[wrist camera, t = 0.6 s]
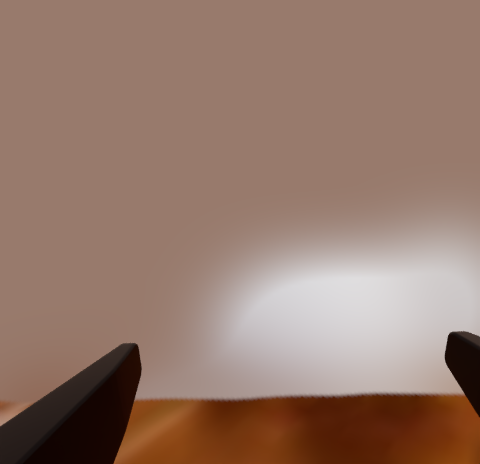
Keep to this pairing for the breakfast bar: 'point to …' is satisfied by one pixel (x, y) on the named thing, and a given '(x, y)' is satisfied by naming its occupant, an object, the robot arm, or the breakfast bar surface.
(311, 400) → the breakfast bar surface
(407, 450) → the breakfast bar surface
